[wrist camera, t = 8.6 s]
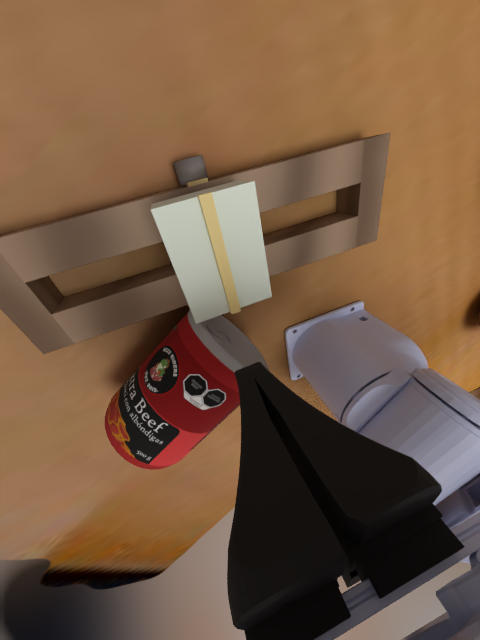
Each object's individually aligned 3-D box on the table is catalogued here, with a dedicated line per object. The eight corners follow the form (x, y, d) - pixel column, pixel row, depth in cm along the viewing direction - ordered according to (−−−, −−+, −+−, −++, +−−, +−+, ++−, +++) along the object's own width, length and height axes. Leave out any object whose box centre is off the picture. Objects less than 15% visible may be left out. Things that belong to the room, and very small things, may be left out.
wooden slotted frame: (363, 115, 16) (393, 106, 14) (354, 248, 22) (374, 255, 20) (-43, 217, 13) (-80, 225, 11) (67, 346, 18) (56, 367, 16)
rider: (225, 179, 15) (256, 179, 11) (244, 270, 19) (274, 299, 14) (151, 199, 15) (150, 208, 10) (186, 289, 18) (196, 327, 14)
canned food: (92, 388, 19) (178, 289, 17) (168, 392, 25) (236, 321, 23) (111, 488, 14) (230, 370, 12) (197, 462, 21) (284, 381, 19)
